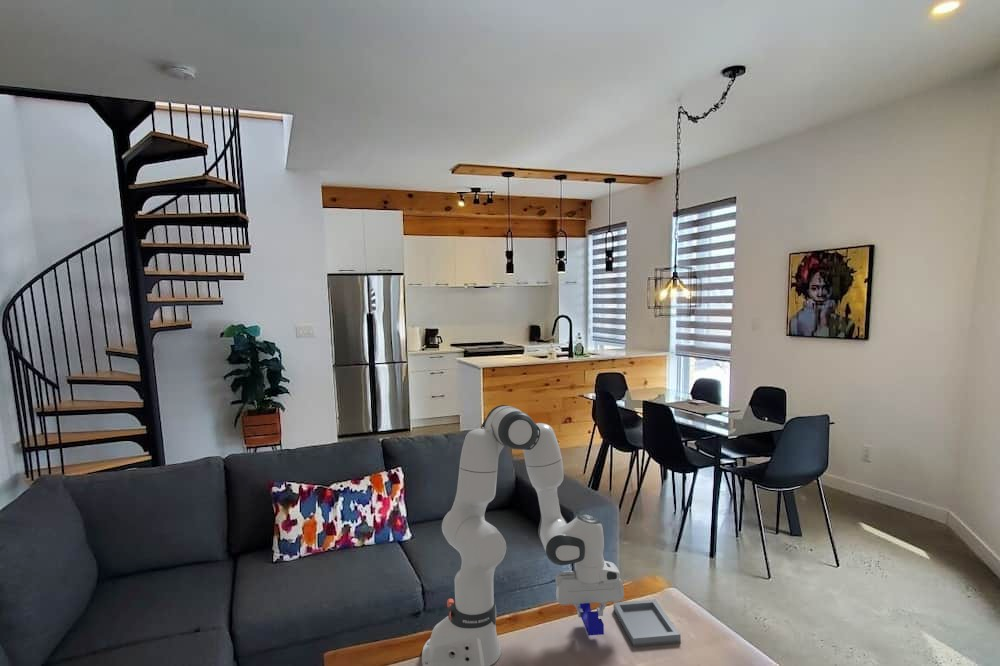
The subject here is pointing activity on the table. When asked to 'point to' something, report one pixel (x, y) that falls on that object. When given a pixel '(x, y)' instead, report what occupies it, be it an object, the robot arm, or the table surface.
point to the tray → (646, 623)
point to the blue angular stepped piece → (591, 620)
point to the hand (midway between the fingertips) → (590, 615)
